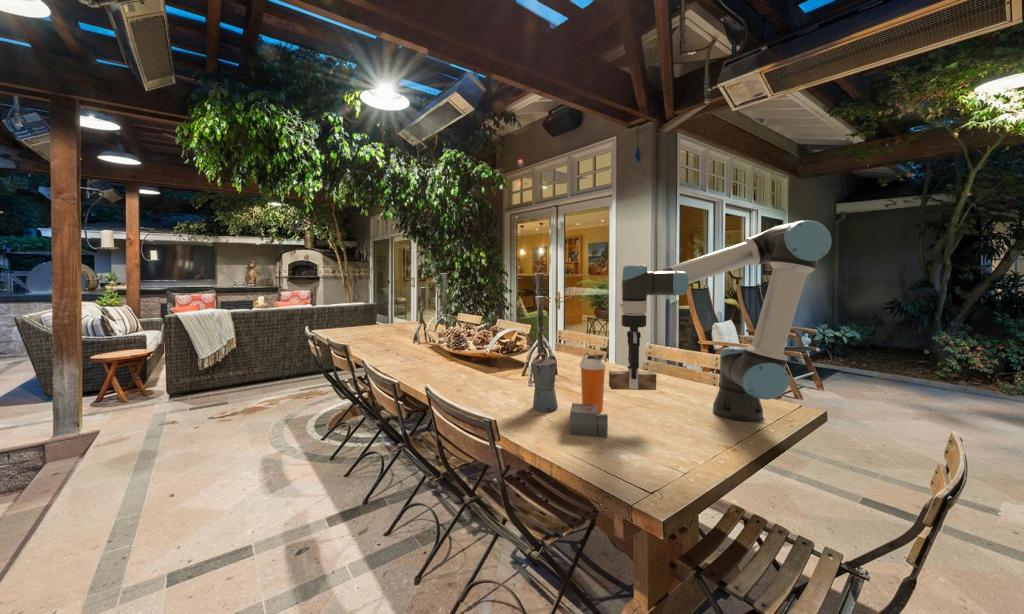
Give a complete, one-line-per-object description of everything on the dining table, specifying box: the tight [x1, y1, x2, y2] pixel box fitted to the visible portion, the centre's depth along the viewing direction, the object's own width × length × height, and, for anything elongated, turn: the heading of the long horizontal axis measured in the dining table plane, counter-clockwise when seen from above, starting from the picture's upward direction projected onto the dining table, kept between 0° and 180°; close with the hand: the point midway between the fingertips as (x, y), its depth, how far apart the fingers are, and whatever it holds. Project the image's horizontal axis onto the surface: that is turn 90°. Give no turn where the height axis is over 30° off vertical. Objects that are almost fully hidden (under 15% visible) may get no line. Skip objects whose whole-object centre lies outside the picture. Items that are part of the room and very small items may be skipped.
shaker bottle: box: [579, 353, 607, 414], centre depth 145 cm, size 9×9×20 cm
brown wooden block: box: [608, 370, 658, 391], centre depth 130 cm, size 14×4×5 cm, turn 87°
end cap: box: [569, 402, 609, 438], centre depth 126 cm, size 11×10×7 cm
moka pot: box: [531, 354, 559, 413], centre depth 147 cm, size 10×15×20 cm, turn 158°
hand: (633, 386), depth 131 cm, fingers closed on brown wooden block, 5 cm apart
